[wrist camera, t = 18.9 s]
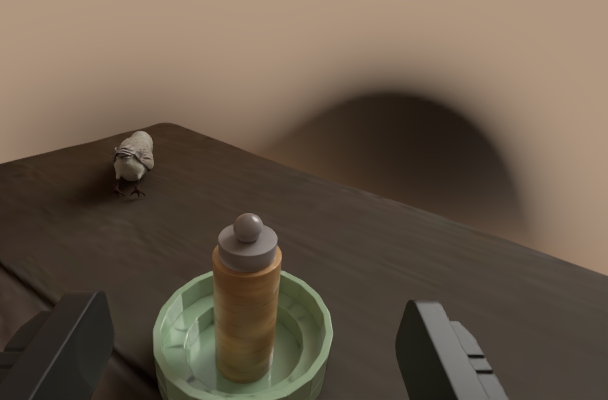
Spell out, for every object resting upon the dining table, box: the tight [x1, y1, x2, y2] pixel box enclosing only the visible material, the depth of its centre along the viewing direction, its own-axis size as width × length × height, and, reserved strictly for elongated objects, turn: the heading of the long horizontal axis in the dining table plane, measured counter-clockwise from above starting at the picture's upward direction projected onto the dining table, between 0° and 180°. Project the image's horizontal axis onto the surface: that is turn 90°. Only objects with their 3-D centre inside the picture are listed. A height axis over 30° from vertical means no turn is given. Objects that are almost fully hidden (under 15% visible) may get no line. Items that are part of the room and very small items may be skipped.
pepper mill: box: [212, 213, 282, 384], centre depth 28 cm, size 5×5×14 cm
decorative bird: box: [109, 131, 154, 198], centre depth 57 cm, size 5×16×8 cm, turn 11°
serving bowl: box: [153, 271, 333, 400], centre depth 30 cm, size 14×14×5 cm
